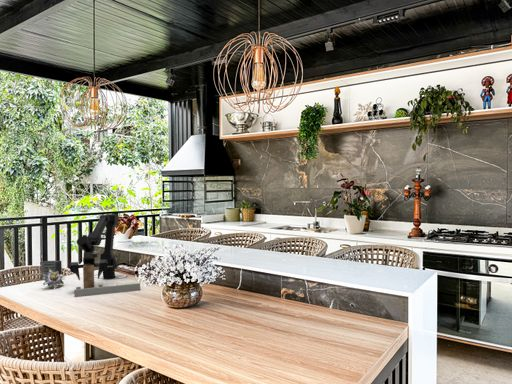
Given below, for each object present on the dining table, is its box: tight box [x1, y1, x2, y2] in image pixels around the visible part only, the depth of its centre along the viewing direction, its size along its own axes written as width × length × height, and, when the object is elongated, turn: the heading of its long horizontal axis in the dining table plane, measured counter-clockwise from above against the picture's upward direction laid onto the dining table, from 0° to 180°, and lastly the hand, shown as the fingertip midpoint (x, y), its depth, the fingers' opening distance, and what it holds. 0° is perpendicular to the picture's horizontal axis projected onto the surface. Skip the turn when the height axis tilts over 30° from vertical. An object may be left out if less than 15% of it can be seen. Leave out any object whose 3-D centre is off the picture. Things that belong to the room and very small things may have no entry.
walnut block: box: [82, 265, 95, 289], centre depth 208 cm, size 5×5×14 cm
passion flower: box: [40, 270, 65, 289], centre depth 220 cm, size 11×11×12 cm
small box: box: [39, 260, 63, 280], centre depth 245 cm, size 11×6×10 cm, turn 84°
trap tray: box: [73, 280, 141, 298], centre depth 210 cm, size 32×13×4 cm, turn 110°
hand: (88, 279), depth 207 cm, fingers open, 9 cm apart
